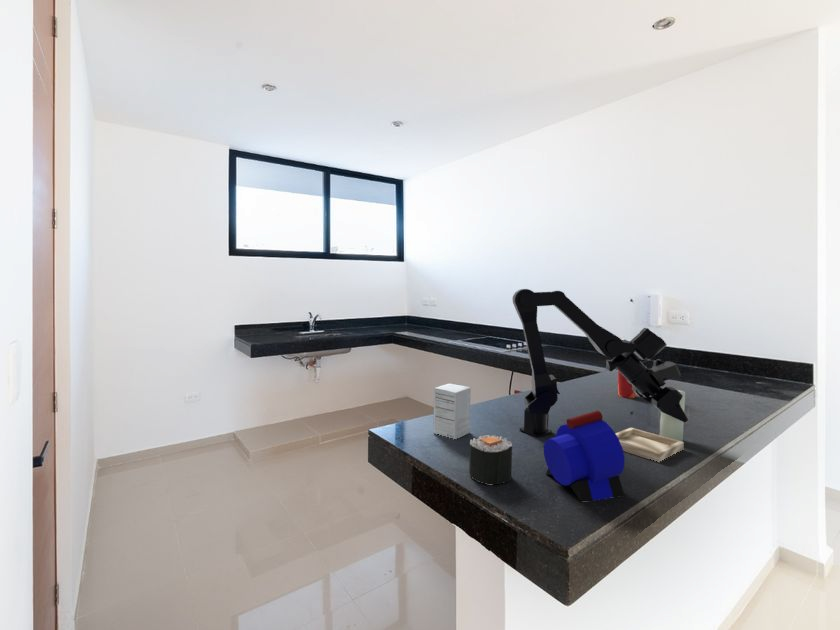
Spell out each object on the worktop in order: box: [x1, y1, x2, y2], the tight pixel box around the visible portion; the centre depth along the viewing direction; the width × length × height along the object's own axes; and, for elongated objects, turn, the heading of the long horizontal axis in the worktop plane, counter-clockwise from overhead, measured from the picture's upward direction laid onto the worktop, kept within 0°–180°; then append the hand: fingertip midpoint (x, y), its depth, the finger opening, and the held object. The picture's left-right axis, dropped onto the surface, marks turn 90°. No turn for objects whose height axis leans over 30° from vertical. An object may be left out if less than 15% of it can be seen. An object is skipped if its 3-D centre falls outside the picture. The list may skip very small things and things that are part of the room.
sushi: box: [468, 434, 513, 485], centre depth 86 cm, size 8×8×8 cm
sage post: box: [659, 389, 686, 442], centre depth 109 cm, size 5×5×13 cm
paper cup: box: [617, 370, 637, 399], centre depth 154 cm, size 8×8×14 cm
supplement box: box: [433, 383, 472, 440], centre depth 111 cm, size 7×7×13 cm
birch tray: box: [615, 427, 685, 463], centre depth 104 cm, size 13×13×2 cm
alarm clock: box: [543, 410, 625, 502], centre depth 83 cm, size 12×12×15 cm
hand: (678, 415), depth 109 cm, fingers open, 9 cm apart
